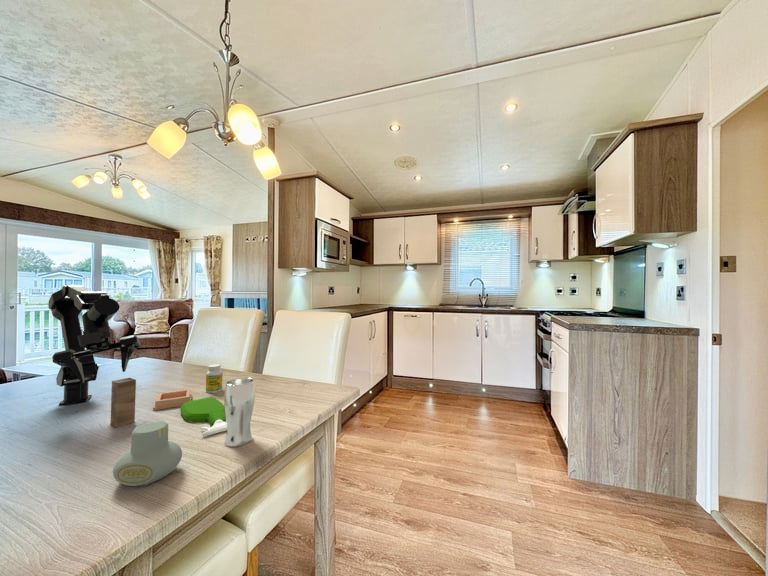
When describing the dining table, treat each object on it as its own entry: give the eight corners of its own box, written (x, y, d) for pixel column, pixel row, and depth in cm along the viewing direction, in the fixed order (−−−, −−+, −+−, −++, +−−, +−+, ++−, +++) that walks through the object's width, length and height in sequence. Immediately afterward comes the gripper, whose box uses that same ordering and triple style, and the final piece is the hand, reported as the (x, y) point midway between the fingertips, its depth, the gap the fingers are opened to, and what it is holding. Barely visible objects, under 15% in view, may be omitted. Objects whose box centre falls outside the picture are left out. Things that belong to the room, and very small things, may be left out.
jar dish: (156, 400, 102) (157, 392, 102) (191, 395, 107) (192, 388, 107) (152, 410, 93) (153, 402, 93) (190, 404, 98) (191, 397, 98)
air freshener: (188, 463, 65) (190, 417, 65) (165, 488, 57) (167, 435, 57) (134, 466, 64) (135, 419, 64) (102, 491, 55) (104, 437, 56)
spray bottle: (216, 404, 100) (242, 429, 83) (177, 412, 93) (196, 443, 75) (216, 395, 100) (242, 419, 83) (177, 403, 93) (197, 431, 75)
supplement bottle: (221, 387, 116) (222, 363, 116) (222, 391, 111) (223, 366, 112) (205, 390, 113) (206, 364, 113) (206, 394, 108) (206, 367, 109)
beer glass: (230, 434, 78) (231, 377, 78) (257, 434, 79) (258, 377, 79) (217, 448, 71) (219, 385, 72) (247, 447, 72) (249, 385, 72)
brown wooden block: (110, 424, 83) (111, 381, 83) (128, 418, 87) (129, 377, 87) (116, 427, 81) (118, 383, 81) (134, 422, 85) (136, 379, 85)
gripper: (40, 328, 81) (45, 384, 77) (128, 312, 90) (136, 360, 86) (59, 340, 90) (64, 390, 86) (137, 323, 99) (145, 368, 95)
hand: (103, 377), depth 88 cm, fingers open, 9 cm apart
